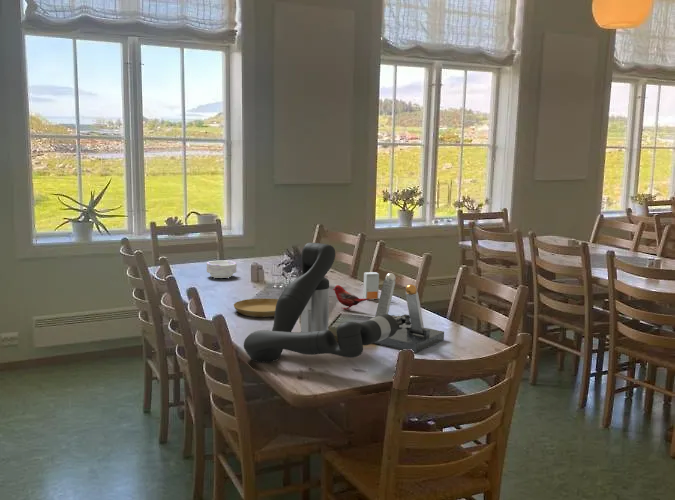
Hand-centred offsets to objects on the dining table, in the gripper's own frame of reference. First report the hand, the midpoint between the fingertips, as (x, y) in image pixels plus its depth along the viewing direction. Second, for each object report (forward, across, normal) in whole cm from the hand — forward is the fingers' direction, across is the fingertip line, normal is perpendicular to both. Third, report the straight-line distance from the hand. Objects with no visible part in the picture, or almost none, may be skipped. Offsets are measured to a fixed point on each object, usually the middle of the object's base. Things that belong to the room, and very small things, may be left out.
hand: (407, 317), depth 217 cm
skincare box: (+54, -51, -11) cm, 75 cm away
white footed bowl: (+43, -135, -11) cm, 142 cm away
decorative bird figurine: (+31, -45, -11) cm, 56 cm away
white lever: (+8, -16, -8) cm, 19 cm away
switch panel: (+8, -8, -11) cm, 16 cm away
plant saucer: (+6, -71, -12) cm, 72 cm away
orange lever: (+9, 0, -8) cm, 11 cm away
